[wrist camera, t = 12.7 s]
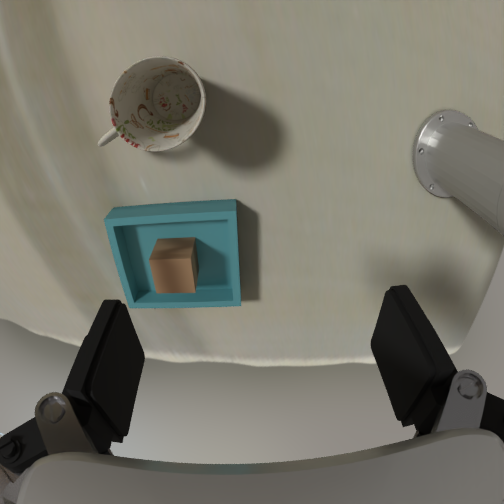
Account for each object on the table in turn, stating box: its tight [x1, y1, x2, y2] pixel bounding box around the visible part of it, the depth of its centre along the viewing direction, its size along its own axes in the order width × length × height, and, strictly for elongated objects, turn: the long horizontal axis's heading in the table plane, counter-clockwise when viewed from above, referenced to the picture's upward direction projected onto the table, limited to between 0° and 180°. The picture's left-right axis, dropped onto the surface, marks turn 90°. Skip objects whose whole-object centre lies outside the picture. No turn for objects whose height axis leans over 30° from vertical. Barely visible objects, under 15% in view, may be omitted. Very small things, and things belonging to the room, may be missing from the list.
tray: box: [104, 199, 241, 308], centre depth 40 cm, size 16×14×4 cm
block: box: [149, 237, 199, 293], centre depth 39 cm, size 5×5×5 cm
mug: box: [98, 56, 206, 151], centre depth 27 cm, size 8×13×10 cm, turn 119°
